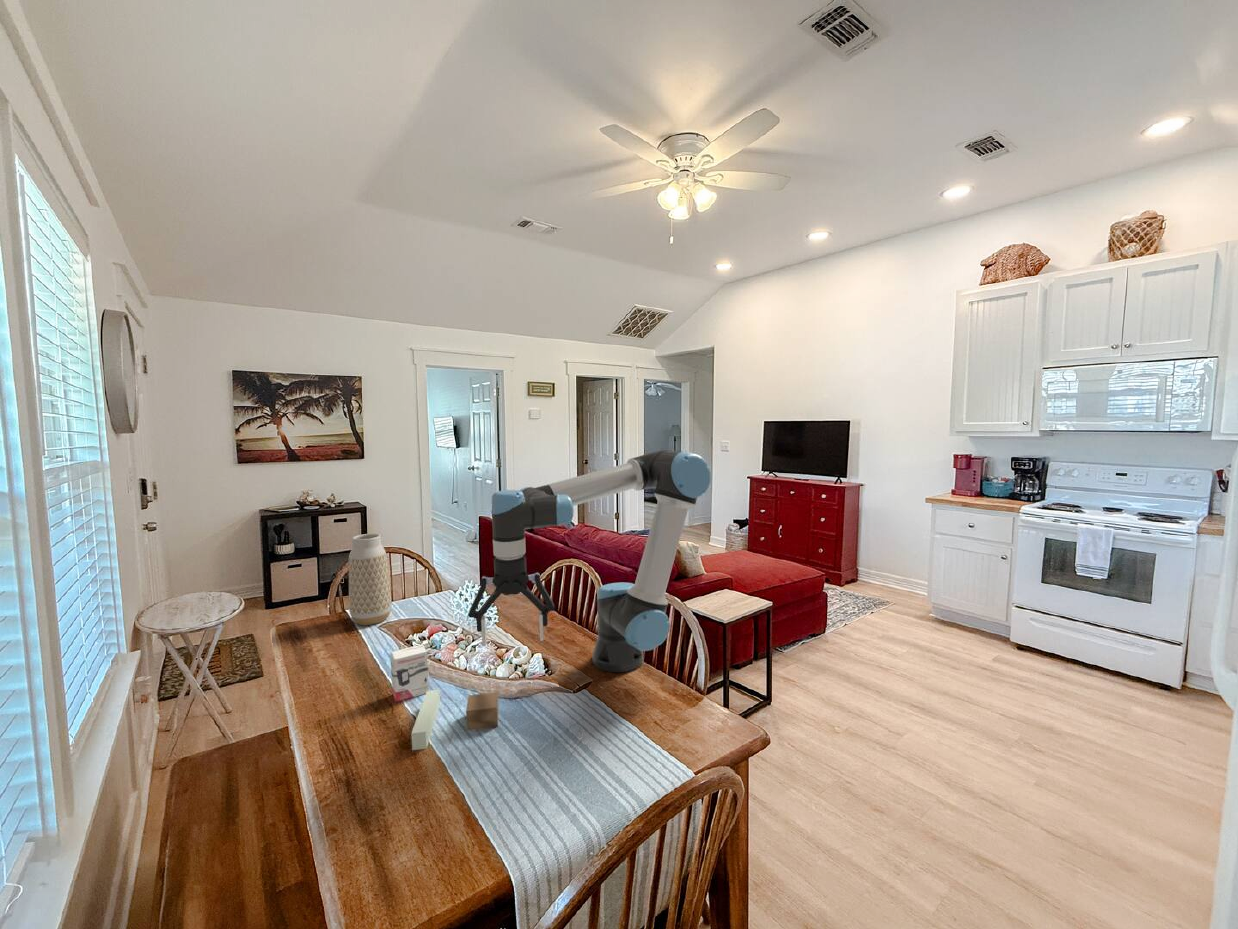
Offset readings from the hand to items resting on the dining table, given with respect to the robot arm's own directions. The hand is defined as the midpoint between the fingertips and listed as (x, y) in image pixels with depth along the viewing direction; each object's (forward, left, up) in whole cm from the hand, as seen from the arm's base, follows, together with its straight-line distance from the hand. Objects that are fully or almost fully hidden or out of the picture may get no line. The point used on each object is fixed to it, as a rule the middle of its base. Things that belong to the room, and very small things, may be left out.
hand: (513, 641), depth 129 cm
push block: (+8, +1, -19) cm, 21 cm away
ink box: (+28, -15, -19) cm, 37 cm away
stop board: (+21, +1, -19) cm, 28 cm away
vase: (+53, -70, -19) cm, 90 cm away
